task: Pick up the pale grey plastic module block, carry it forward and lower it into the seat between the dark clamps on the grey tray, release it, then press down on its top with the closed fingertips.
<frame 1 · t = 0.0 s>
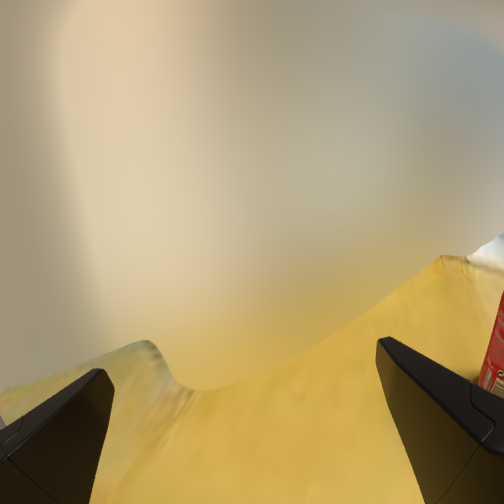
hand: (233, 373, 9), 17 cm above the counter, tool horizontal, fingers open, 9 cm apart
soda can: (503, 393, 19), on the counter
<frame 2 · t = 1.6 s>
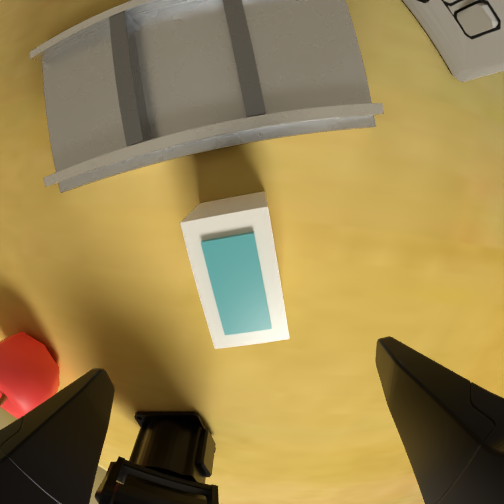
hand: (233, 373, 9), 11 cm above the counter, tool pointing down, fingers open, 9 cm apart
module: (243, 251, 19), on the counter
grey tray: (189, 66, 15), on the counter
electrical switch: (439, 17, 13), on the counter
apple: (39, 354, 23), on the counter
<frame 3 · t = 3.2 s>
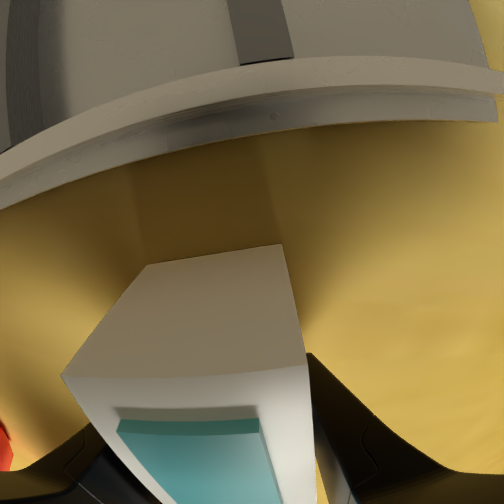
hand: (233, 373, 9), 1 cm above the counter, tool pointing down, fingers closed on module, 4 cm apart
module: (235, 352, 10), on the counter, touching gripper
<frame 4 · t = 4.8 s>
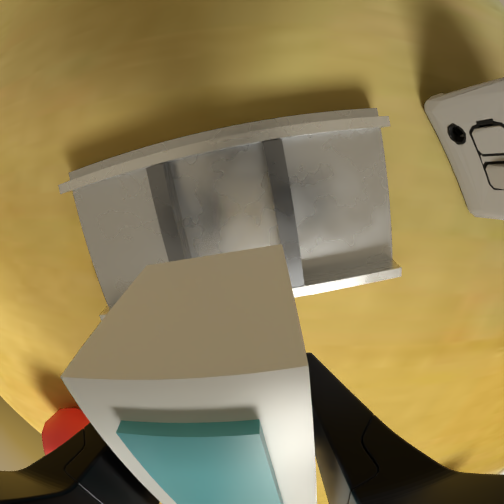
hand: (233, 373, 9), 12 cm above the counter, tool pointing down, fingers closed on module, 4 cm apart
module: (235, 353, 10), point 11 cm above the counter, touching gripper
grey tray: (230, 217, 19), on the counter
electrical switch: (467, 142, 17), on the counter
apple: (87, 420, 27), on the counter
when the fingers open (3 cm above the counter, at t = 6.7 s): module drops 1 cm, resting on grey tray.
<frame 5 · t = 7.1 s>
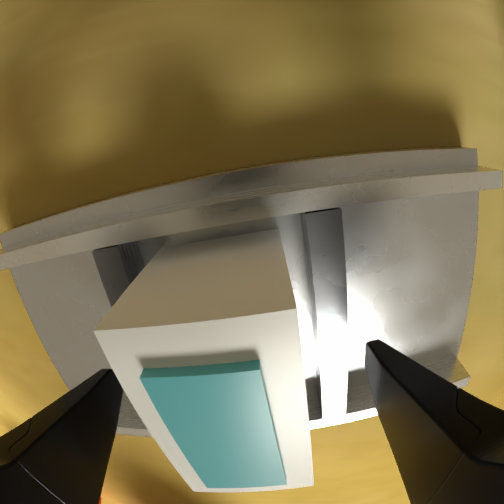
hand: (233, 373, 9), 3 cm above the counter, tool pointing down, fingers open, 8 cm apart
module: (238, 328, 11), point 1 cm above the counter, touching grey tray
grey tray: (238, 313, 12), on the counter
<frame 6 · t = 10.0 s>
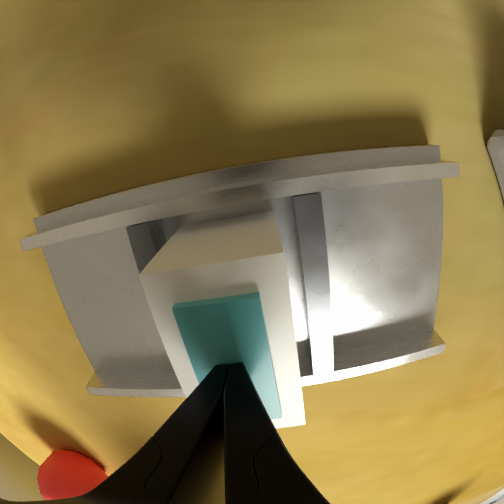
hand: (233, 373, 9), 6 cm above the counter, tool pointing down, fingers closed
module: (241, 293, 14), point 1 cm above the counter, touching grey tray
grey tray: (242, 283, 15), on the counter
apple: (84, 460, 23), on the counter
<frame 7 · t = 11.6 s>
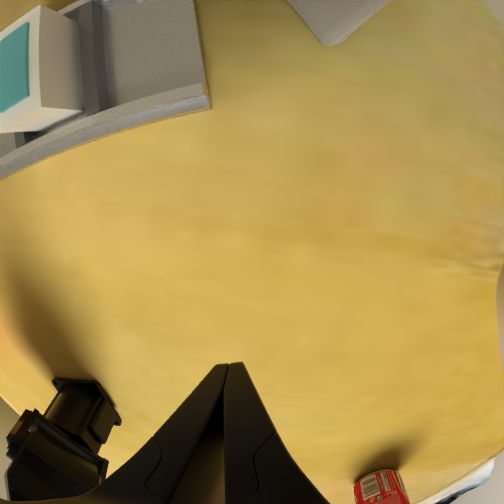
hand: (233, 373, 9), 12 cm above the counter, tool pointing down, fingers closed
module: (59, 76, 15), point 1 cm above the counter, touching grey tray
grey tray: (67, 77, 16), on the counter
soda can: (375, 476, 32), on the counter
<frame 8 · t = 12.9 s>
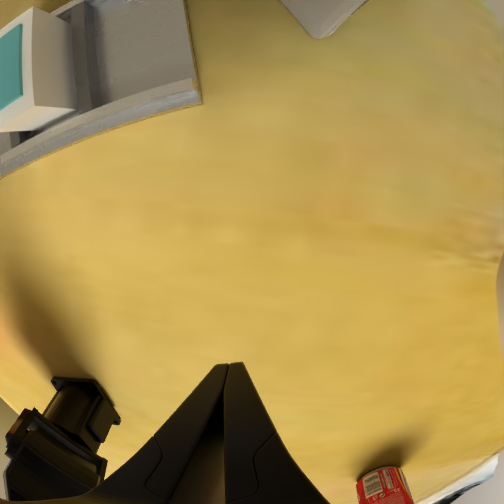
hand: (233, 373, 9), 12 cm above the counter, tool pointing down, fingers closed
module: (53, 76, 15), point 1 cm above the counter, touching grey tray
grey tray: (61, 77, 16), on the counter
soda can: (377, 474, 31), on the counter
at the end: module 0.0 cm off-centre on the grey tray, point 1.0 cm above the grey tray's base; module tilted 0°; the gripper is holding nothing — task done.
